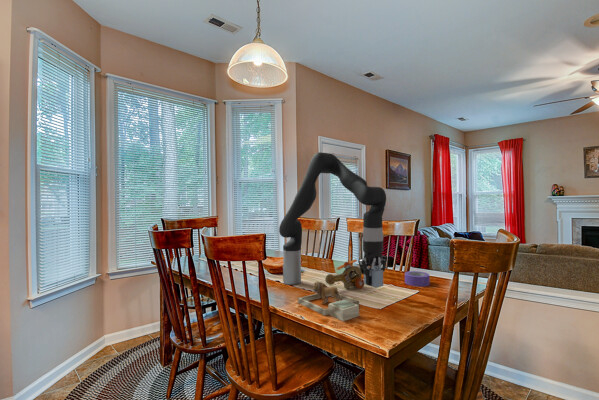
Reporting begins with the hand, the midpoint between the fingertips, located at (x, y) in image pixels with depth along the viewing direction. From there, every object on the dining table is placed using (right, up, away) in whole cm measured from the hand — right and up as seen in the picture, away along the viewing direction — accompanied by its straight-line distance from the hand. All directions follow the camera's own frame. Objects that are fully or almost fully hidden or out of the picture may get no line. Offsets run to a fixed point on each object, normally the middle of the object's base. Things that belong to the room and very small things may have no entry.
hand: (373, 284), depth 114 cm
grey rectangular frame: (-14, -11, +7) cm, 19 cm away
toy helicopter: (-6, -11, +32) cm, 34 cm away
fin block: (0, 0, 0) cm, 0 cm away
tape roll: (+32, -11, +39) cm, 51 cm away
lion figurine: (-16, -11, +9) cm, 21 cm away
